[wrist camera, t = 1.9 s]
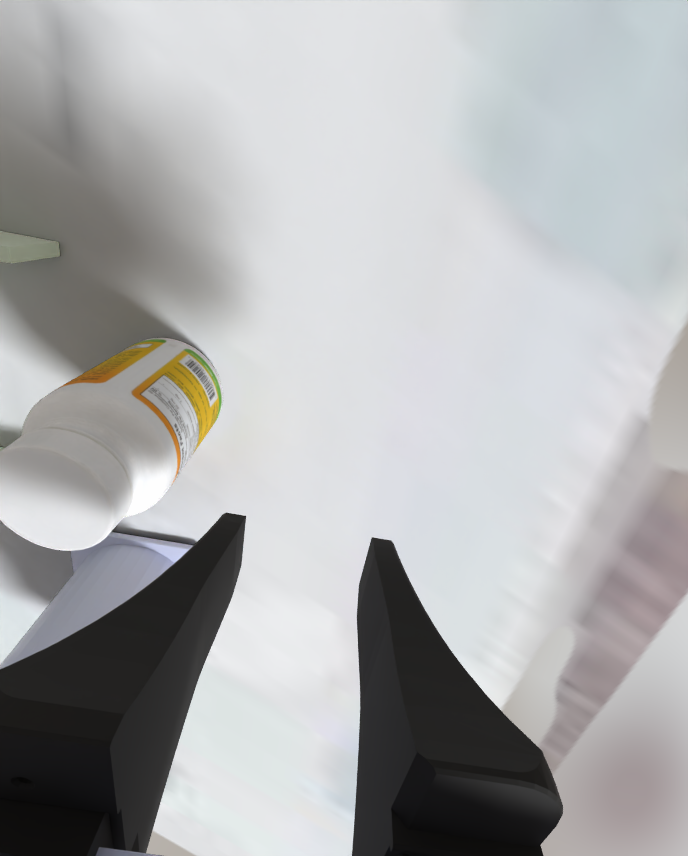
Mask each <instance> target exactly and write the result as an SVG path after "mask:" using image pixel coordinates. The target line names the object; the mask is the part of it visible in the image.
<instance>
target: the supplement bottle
mask: <svg viewBox="0 0 688 856" xmlns="http://www.w3.org/2000/svg"><path fill="white" fill-rule="evenodd" d="M222 405H223V389H222V384H221V381H220V378H219V376H218V374H217V372H216V370H215V368H214V367H213V365H212V364H211V363H210V361H209V360H208V359H207V358H206V357H205V356H204V355H203V354H202V353H201V352H199V351H198V350H197V349H195V348H194V347H192V346H190V345H188V344H186V343H184V342H181V341H178V340H174V339H169V338H151V339H146V340H143V341H140V342H138V343H136V344H134V345H132V346H130V347H128V348H126V349H125V350H123V351H121V352H120V353H118V354H116V355H115V356H113V357H111V358H109V359H108V360H106V361H104V362H103V363H101V364H99V365H98V366H96V367H94V368H92V369H90V370H89V371H87V372H85V373H83V374H82V375H80V376H79V377H77V378H75V379H73V380H71V381H70V382H68V383H66V384H64V385H63V386H61V387H59V388H58V389H56V390H54V391H53V392H51V393H50V394H48V395H47V396H45V397H44V398H42V399H41V400H40V401H39V402H38V403H37V404H35V405H34V406H33V408H32V409H31V410H30V412H29V414H28V415H27V417H26V419H25V422H24V424H23V428H22V434H21V437H19V438H18V439H17V440H15V441H14V442H13V443H11V444H10V445H9V446H7V447H6V448H4V449H3V450H1V451H0V520H1V521H2V522H3V523H4V524H5V525H6V526H7V527H8V528H9V529H11V530H12V531H14V532H15V533H16V534H18V535H19V536H21V537H23V538H24V539H26V540H28V541H30V542H32V543H35V544H37V545H40V546H43V547H46V548H50V549H55V550H62V551H75V550H83V549H87V548H90V547H92V546H94V545H97V544H98V543H100V542H101V541H102V540H104V539H105V538H106V537H107V536H108V535H109V534H110V532H111V531H112V530H113V529H114V528H115V527H116V526H117V524H118V523H119V522H120V521H121V520H122V519H123V518H124V517H128V516H132V515H135V514H138V513H141V512H143V511H145V510H147V509H149V508H151V507H152V506H153V505H155V504H156V503H157V502H158V501H159V500H160V499H161V498H162V497H163V495H164V494H165V493H166V492H167V490H168V489H169V488H170V486H171V485H172V483H173V482H174V480H175V479H176V478H177V476H178V475H179V473H180V472H181V470H182V469H183V467H184V466H185V465H186V463H187V462H188V460H189V459H190V457H191V456H192V454H193V453H194V452H195V450H196V449H197V447H198V446H199V445H200V443H201V442H202V440H203V439H204V437H205V436H206V435H207V433H208V432H209V430H210V429H211V427H212V426H213V424H214V423H215V421H216V420H217V418H218V416H219V414H220V412H221V409H222Z"/></svg>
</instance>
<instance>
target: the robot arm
mask: <svg viewBox="0 0 688 856" xmlns="http://www.w3.org/2000/svg"><path fill="white" fill-rule="evenodd" d="M245 521H246V516H242V515H237V514H231V513H225V514H223V515H222V516H221V517H220V518H219V520H218V521H217V522H216V523H215V524H214V525H213V526H212V527H211V528H210V529H209V531H208V532H207V533H206V534H205V535H204V536H203V537H202V538H201V539H200V540H199V541H198V542H197V543H196V544H195V545H194V546H193V545H187V544H181V543H175V542H169V541H163V540H157V539H151V538H145V537H139V536H133V535H127V534H121V533H115V532H110V534H109V535H108V536H107V537H106V538H105V539H104V540H102V541H101V542H100V543H98V544H97V545H94V546H92V547H90V548H87V549H83V550H75V551H71V558H72V565H73V572H74V574H73V575H72V576H71V578H70V579H69V580H68V581H67V583H66V584H65V585H64V586H63V588H62V589H61V590H60V591H59V593H58V594H57V595H56V596H55V598H54V599H53V600H52V601H51V603H50V604H49V605H48V606H47V608H46V609H45V610H44V611H43V613H42V614H41V615H40V616H39V618H38V619H37V620H36V621H35V623H34V624H33V625H32V626H31V628H30V629H29V630H28V631H27V633H26V634H25V635H24V636H23V638H22V639H21V640H20V641H19V643H18V644H17V645H16V646H15V648H14V649H13V650H12V651H11V653H10V654H9V655H8V656H7V658H6V659H5V660H4V661H3V663H2V664H1V665H0V856H162V855H154V854H146V850H147V847H148V843H149V840H150V836H151V833H152V830H153V826H154V823H155V819H156V816H157V812H158V809H159V805H160V802H161V798H162V795H163V792H164V788H165V785H166V782H167V778H168V775H169V771H170V768H171V765H172V761H173V758H174V755H175V751H176V748H177V745H178V742H179V738H180V735H181V732H182V729H183V725H184V722H185V719H186V716H187V713H188V709H189V706H190V703H191V700H192V697H193V694H194V691H195V687H196V684H197V681H198V679H199V676H200V673H201V671H202V668H203V665H204V663H205V661H206V658H207V656H208V653H209V651H210V649H211V646H212V644H213V641H214V639H215V637H216V634H217V632H218V629H219V627H220V625H221V622H222V620H223V618H224V615H225V613H226V610H227V608H228V605H229V603H230V601H231V598H232V595H233V592H234V589H235V585H236V582H237V578H238V575H239V571H240V568H241V562H242V552H243V542H244V531H245ZM357 630H358V652H359V673H360V730H359V752H358V771H357V789H356V806H355V822H354V837H353V850H352V856H543V853H542V849H541V846H540V845H541V843H542V842H543V841H544V840H545V839H546V838H547V836H548V835H549V834H550V833H551V832H552V830H553V829H554V828H555V827H556V825H557V824H558V822H559V820H560V818H561V816H562V814H563V805H562V802H561V799H560V796H559V793H558V790H557V787H556V784H555V781H554V778H553V776H552V773H551V771H550V769H549V766H548V764H547V762H546V760H545V757H544V755H543V752H542V750H540V749H539V748H538V747H537V746H536V745H535V744H534V743H533V742H532V741H531V740H530V739H529V738H528V737H527V736H526V735H525V734H524V733H523V732H522V731H521V730H520V729H518V727H517V726H515V725H514V724H513V723H512V722H511V721H510V720H509V719H508V718H507V717H506V716H505V715H504V714H503V712H502V711H501V710H500V709H499V708H498V707H497V706H496V705H495V704H494V703H493V702H492V701H491V700H490V699H489V697H488V696H487V695H486V694H485V693H484V692H483V691H482V689H481V688H480V687H479V686H478V684H477V683H476V682H475V681H474V680H473V678H472V677H471V676H470V675H469V674H468V672H467V671H466V670H465V669H464V668H463V666H462V665H461V664H460V662H459V661H458V660H457V658H456V657H455V656H454V654H453V653H452V651H451V650H450V649H449V647H448V646H447V644H446V643H445V641H444V640H443V638H442V637H441V635H440V634H439V632H438V631H437V629H436V628H435V626H434V624H433V623H432V621H431V619H430V618H429V616H428V614H427V613H426V611H425V609H424V607H423V606H422V604H421V602H420V600H419V598H418V596H417V594H416V592H415V590H414V588H413V587H412V585H411V583H410V581H409V578H408V576H407V574H406V572H405V570H404V568H403V566H402V563H401V561H400V559H399V556H398V554H397V551H396V549H395V546H394V544H393V542H392V541H390V540H384V539H378V538H372V539H371V543H370V546H369V550H368V554H367V557H366V561H365V565H364V569H363V572H362V576H361V580H360V583H359V593H358V608H357Z"/></svg>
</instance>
